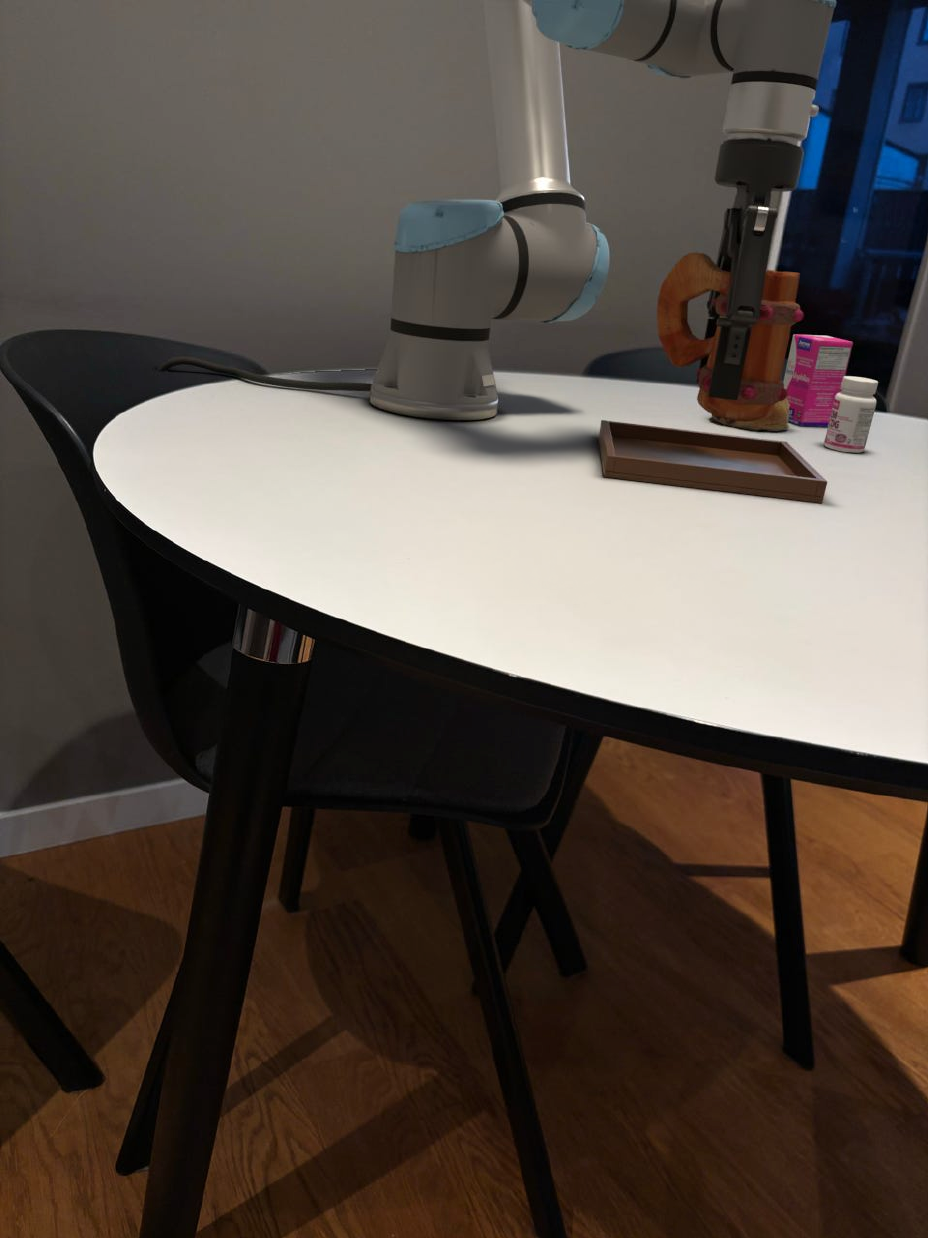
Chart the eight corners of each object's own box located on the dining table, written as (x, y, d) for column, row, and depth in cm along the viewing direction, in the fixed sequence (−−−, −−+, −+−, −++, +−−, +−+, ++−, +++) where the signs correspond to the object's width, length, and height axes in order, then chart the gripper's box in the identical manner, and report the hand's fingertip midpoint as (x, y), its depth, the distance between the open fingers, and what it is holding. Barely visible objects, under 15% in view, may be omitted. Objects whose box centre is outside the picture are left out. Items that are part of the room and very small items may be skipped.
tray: (603, 476, 93) (607, 455, 92) (598, 438, 110) (601, 419, 110) (822, 503, 92) (827, 481, 91) (782, 460, 109) (786, 441, 108)
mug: (792, 421, 100) (827, 265, 94) (766, 431, 93) (802, 264, 88) (661, 396, 107) (686, 250, 101) (628, 403, 101) (653, 247, 95)
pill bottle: (814, 444, 120) (831, 374, 117) (841, 443, 123) (858, 375, 119) (845, 453, 116) (863, 382, 113) (872, 453, 119) (890, 382, 116)
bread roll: (776, 461, 126) (815, 408, 123) (712, 420, 124) (750, 365, 122) (756, 445, 135) (792, 394, 133) (695, 406, 133) (731, 354, 131)
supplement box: (773, 417, 137) (792, 332, 132) (808, 418, 139) (827, 335, 134) (799, 426, 132) (819, 338, 127) (835, 427, 134) (856, 341, 129)
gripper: (833, 134, 80) (774, 413, 88) (781, 154, 99) (736, 380, 108) (740, 125, 80) (690, 403, 89) (706, 146, 100) (668, 372, 108)
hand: (715, 390), depth 98 cm, fingers closed on mug, 8 cm apart
